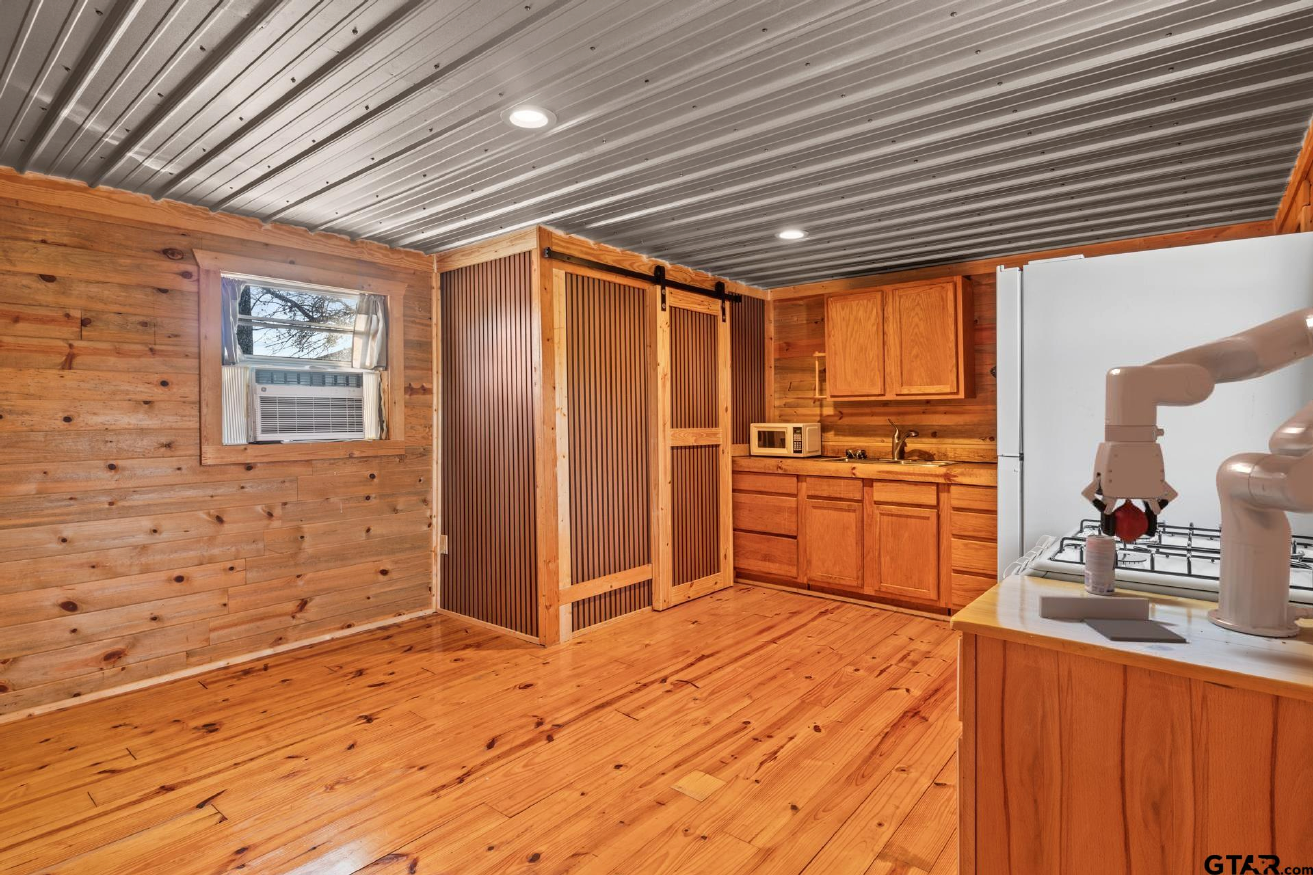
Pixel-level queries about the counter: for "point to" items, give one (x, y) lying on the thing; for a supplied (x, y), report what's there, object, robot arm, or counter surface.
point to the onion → (1129, 522)
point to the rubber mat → (1132, 630)
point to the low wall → (1094, 607)
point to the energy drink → (1100, 564)
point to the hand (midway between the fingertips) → (1128, 534)
